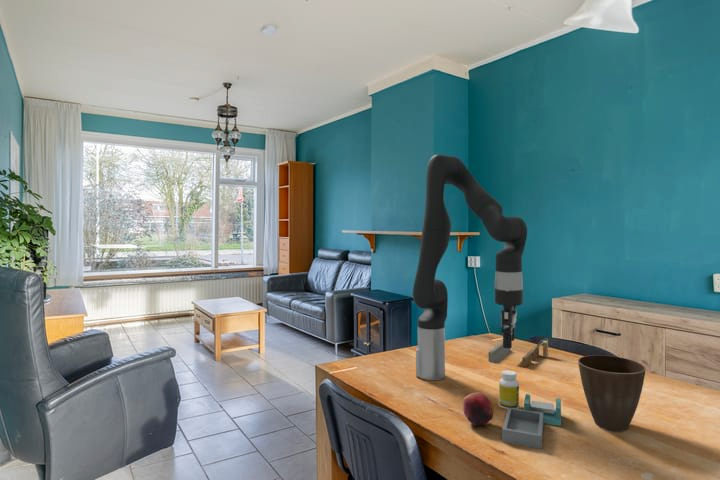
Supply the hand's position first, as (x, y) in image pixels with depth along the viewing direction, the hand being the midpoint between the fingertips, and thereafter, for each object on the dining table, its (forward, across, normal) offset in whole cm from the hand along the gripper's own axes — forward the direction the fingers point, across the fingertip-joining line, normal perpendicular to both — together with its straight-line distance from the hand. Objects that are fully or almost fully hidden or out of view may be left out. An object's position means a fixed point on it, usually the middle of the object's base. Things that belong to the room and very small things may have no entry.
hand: (508, 344), depth 123 cm
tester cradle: (+18, +4, +9) cm, 20 cm away
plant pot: (+18, +2, +25) cm, 31 cm away
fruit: (+18, +15, -6) cm, 24 cm away
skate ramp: (+19, -47, +3) cm, 51 cm away
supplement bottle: (+18, 0, 0) cm, 18 cm away
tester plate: (+16, +4, +9) cm, 18 cm away
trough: (+18, +15, +5) cm, 24 cm away
